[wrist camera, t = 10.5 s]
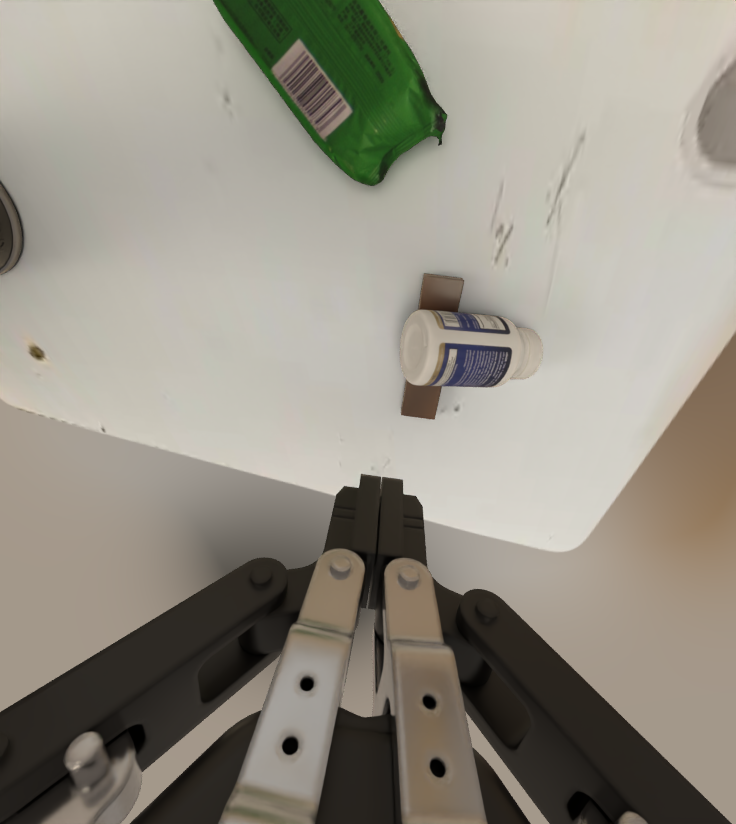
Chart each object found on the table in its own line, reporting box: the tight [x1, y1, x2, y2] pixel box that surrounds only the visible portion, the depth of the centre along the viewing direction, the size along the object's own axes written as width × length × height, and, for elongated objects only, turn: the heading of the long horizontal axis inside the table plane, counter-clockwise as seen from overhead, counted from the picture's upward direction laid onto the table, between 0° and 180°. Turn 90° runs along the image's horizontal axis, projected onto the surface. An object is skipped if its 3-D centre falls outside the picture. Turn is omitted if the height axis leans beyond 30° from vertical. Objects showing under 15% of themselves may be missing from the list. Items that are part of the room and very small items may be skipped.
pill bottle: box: [400, 310, 543, 387], centre depth 30 cm, size 5×5×10 cm
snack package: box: [213, 0, 447, 186], centre depth 23 cm, size 7×16×5 cm, turn 41°
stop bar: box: [401, 273, 464, 419], centre depth 33 cm, size 3×12×1 cm, turn 173°
